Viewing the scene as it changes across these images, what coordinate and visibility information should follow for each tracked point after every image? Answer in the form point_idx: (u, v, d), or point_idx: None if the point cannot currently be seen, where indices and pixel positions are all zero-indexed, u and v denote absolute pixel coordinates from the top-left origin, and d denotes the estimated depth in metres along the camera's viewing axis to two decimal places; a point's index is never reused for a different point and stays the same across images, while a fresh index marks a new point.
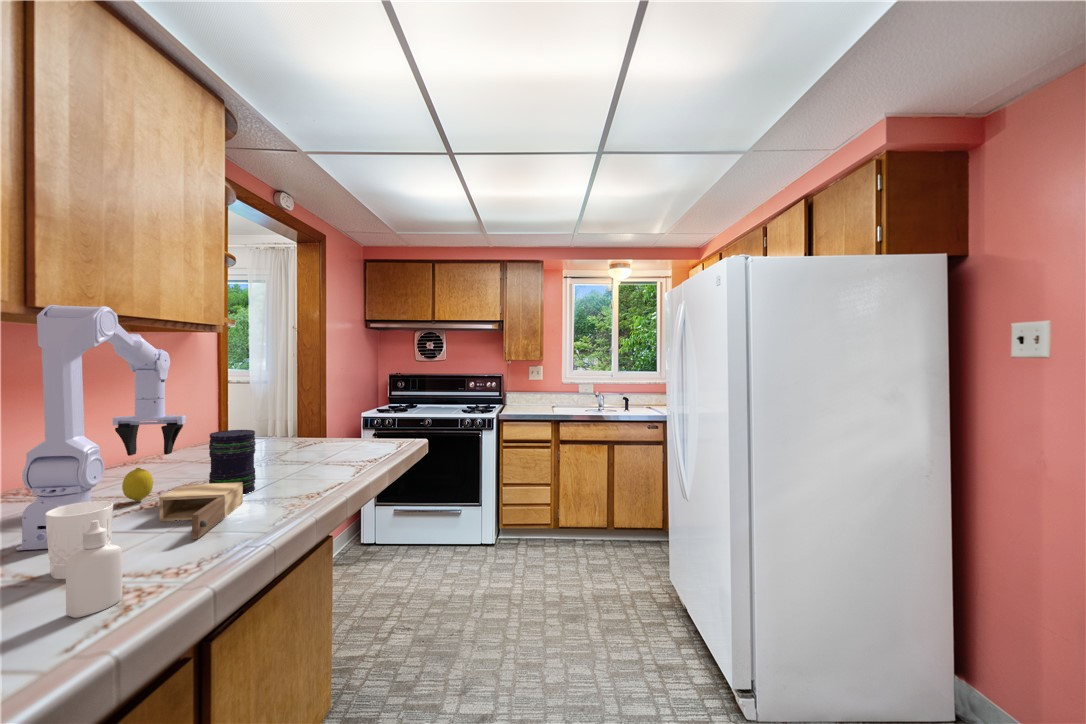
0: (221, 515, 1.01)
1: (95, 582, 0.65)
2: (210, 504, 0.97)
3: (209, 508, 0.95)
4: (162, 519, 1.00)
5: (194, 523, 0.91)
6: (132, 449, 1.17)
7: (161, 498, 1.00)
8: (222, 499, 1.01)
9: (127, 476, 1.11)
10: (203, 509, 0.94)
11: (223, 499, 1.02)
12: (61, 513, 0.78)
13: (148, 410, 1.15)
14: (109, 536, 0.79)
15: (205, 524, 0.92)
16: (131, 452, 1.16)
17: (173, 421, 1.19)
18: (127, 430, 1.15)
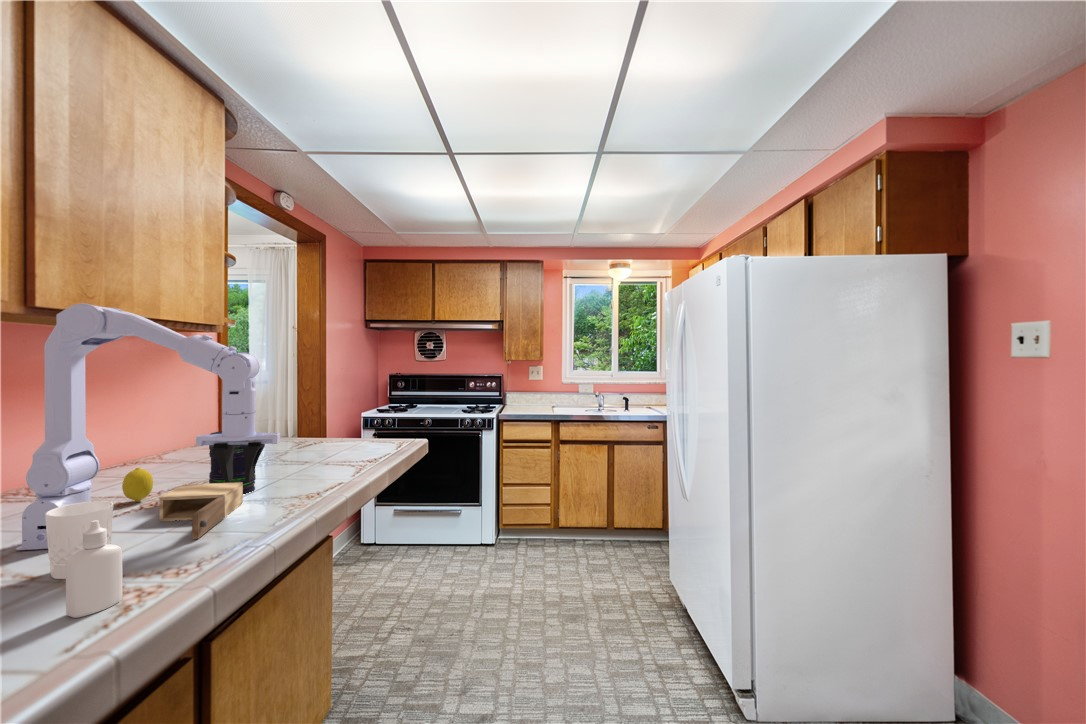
0: (221, 515, 1.01)
1: (95, 582, 0.65)
2: (210, 504, 0.97)
3: (209, 508, 0.95)
4: (162, 519, 1.00)
5: (194, 523, 0.91)
6: (229, 474, 0.97)
7: (161, 498, 1.00)
8: (222, 499, 1.01)
9: (127, 476, 1.11)
10: (203, 509, 0.94)
11: (223, 499, 1.02)
12: (61, 513, 0.78)
13: (239, 427, 0.95)
14: (109, 536, 0.79)
15: (205, 524, 0.92)
16: (229, 478, 0.97)
17: (266, 440, 0.98)
18: (225, 451, 0.95)
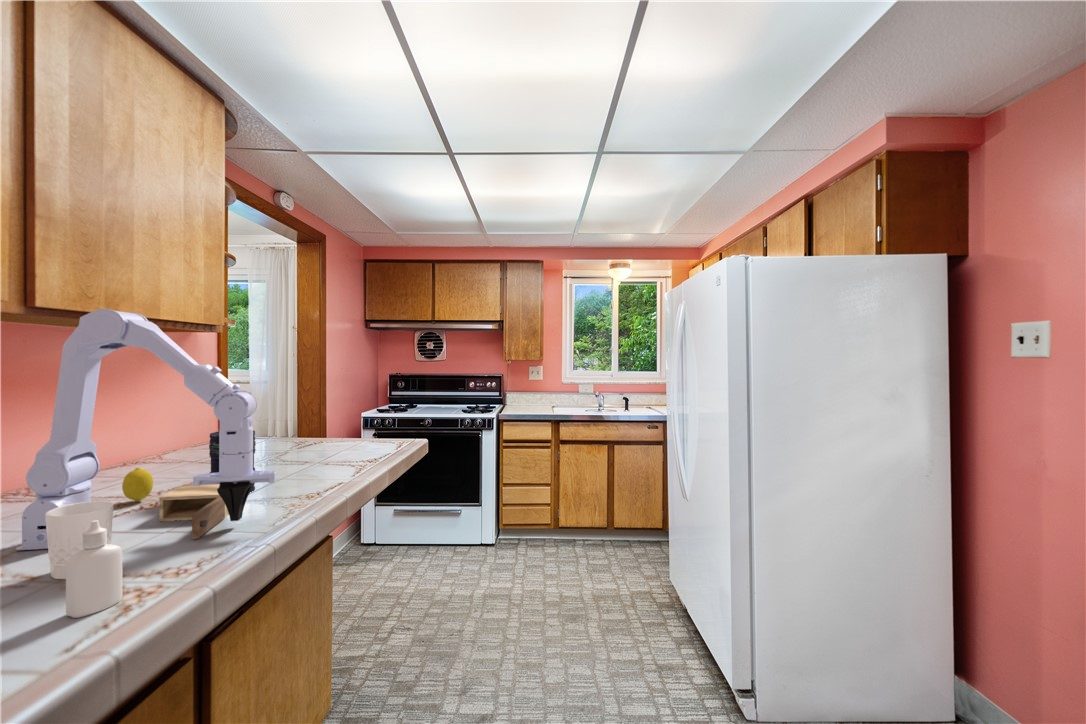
0: (221, 515, 1.01)
1: (95, 583, 0.65)
2: (210, 504, 0.97)
3: (209, 508, 0.95)
4: (162, 519, 1.00)
5: (194, 523, 0.91)
6: None
7: (161, 498, 1.00)
8: (222, 499, 1.01)
9: (127, 476, 1.11)
10: (203, 509, 0.94)
11: None
12: (61, 513, 0.78)
13: (236, 467, 0.95)
14: (109, 536, 0.79)
15: (205, 524, 0.92)
16: None
17: (263, 479, 0.98)
18: (231, 491, 0.96)
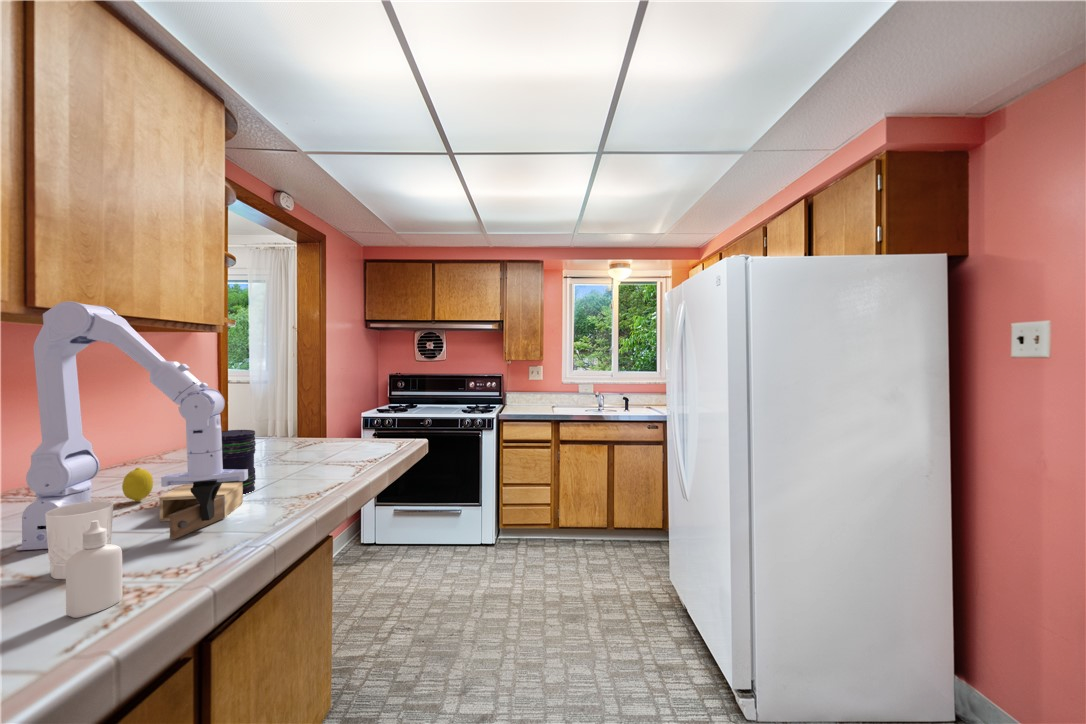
0: (218, 515, 1.01)
1: (95, 583, 0.65)
2: None
3: (195, 508, 0.95)
4: (162, 519, 1.00)
5: (171, 523, 0.90)
6: (210, 512, 0.96)
7: (161, 498, 1.00)
8: (220, 499, 1.01)
9: (127, 476, 1.11)
10: (187, 509, 0.93)
11: (221, 499, 1.01)
12: (61, 513, 0.78)
13: (204, 466, 0.94)
14: (109, 536, 0.79)
15: (183, 525, 0.91)
16: (209, 516, 0.96)
17: (233, 477, 0.97)
18: None
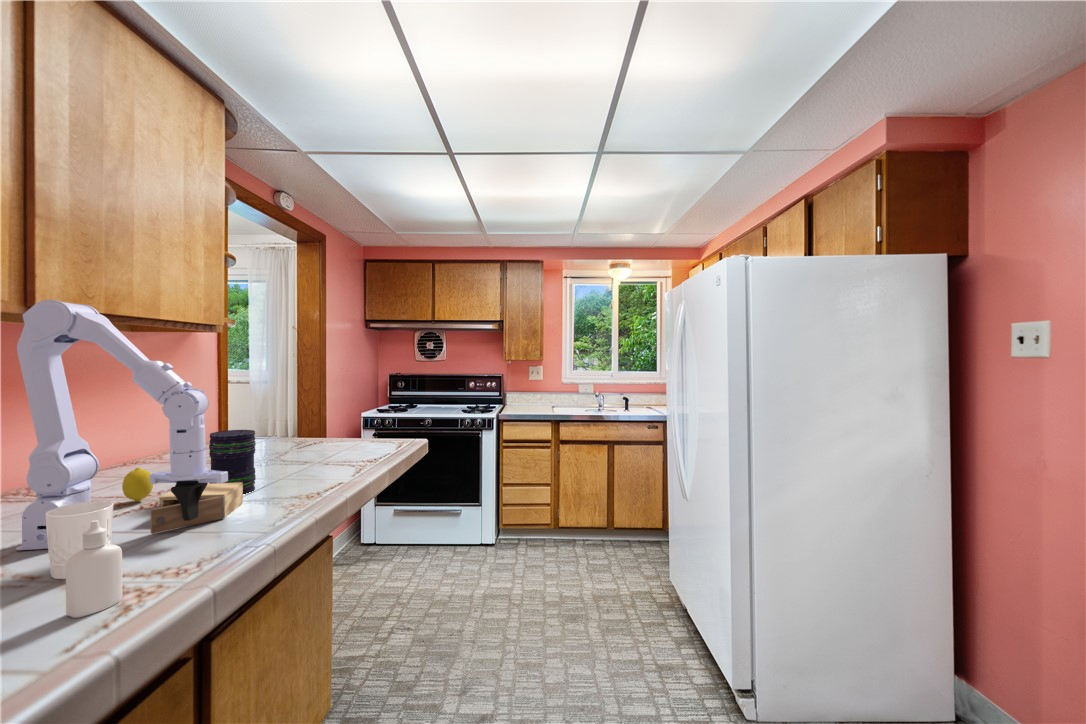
0: (214, 515, 1.01)
1: (95, 583, 0.65)
2: None
3: (181, 506, 0.96)
4: None
5: None
6: (192, 512, 0.96)
7: (161, 498, 1.00)
8: (216, 499, 1.01)
9: (127, 476, 1.11)
10: (171, 506, 0.95)
11: (219, 499, 1.01)
12: (61, 513, 0.78)
13: (182, 467, 0.93)
14: (109, 536, 0.79)
15: (159, 522, 0.93)
16: (190, 516, 0.96)
17: (213, 479, 0.96)
18: None
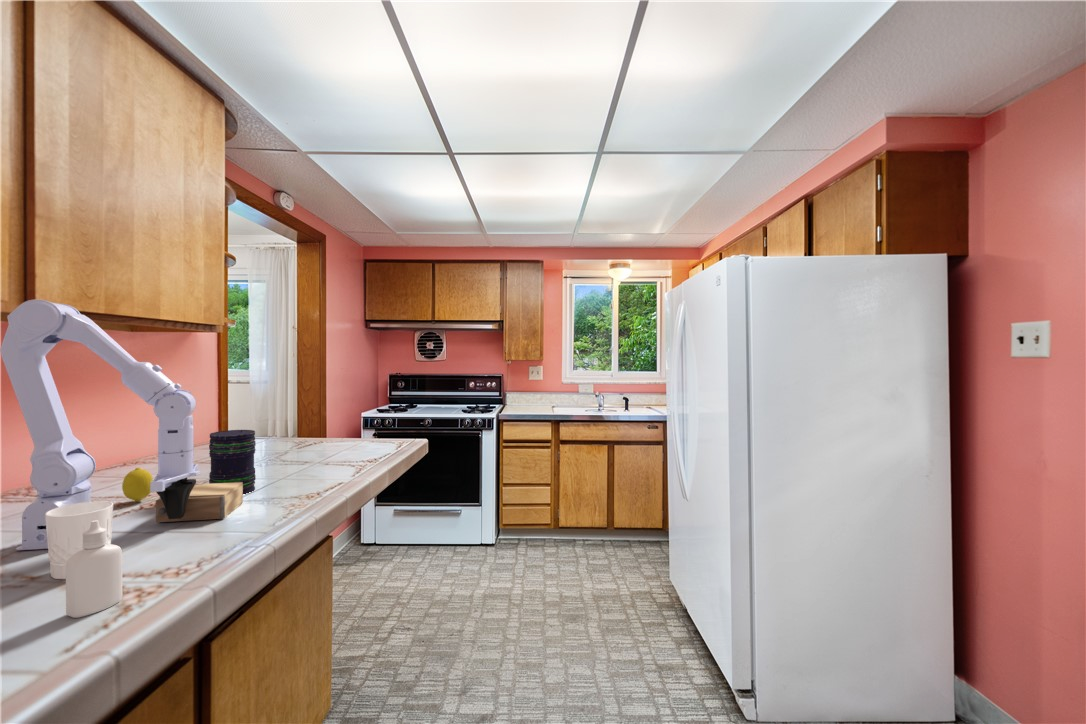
0: (212, 514, 1.01)
1: (95, 583, 0.65)
2: (192, 498, 1.01)
3: None
4: None
5: None
6: None
7: None
8: (215, 499, 1.01)
9: (127, 476, 1.11)
10: None
11: (217, 499, 1.01)
12: (61, 513, 0.78)
13: (158, 465, 0.96)
14: (109, 536, 0.79)
15: (159, 512, 0.98)
16: None
17: None
18: None
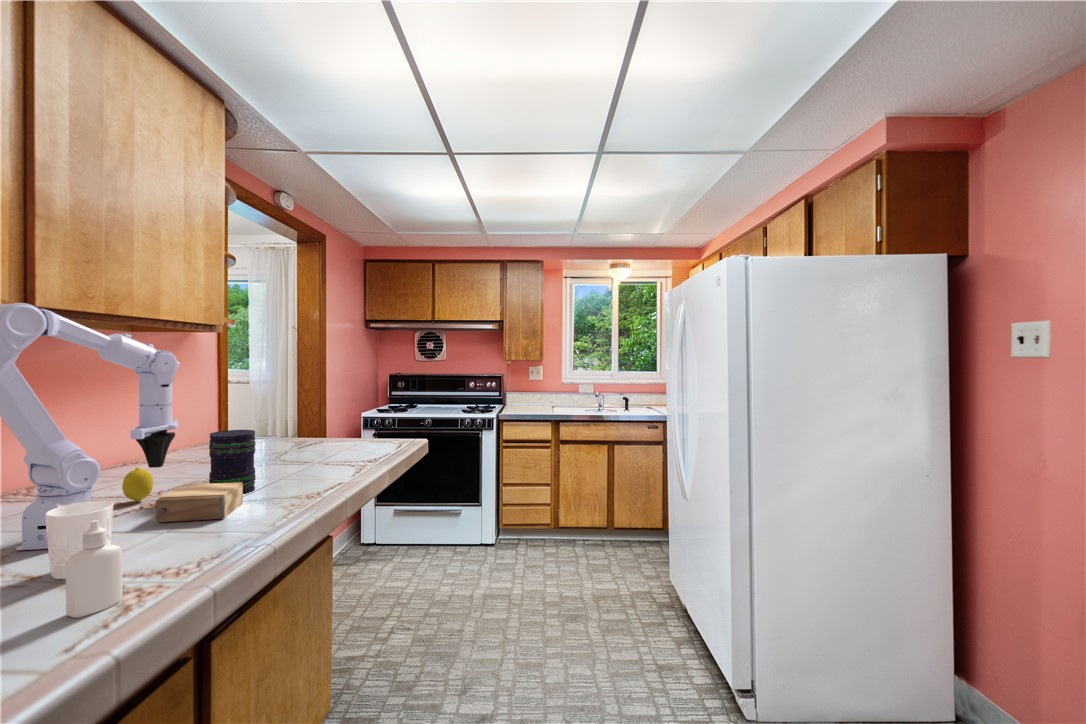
0: (212, 514, 1.01)
1: (95, 583, 0.65)
2: (192, 498, 1.01)
3: (182, 500, 1.00)
4: None
5: None
6: None
7: (161, 498, 1.00)
8: (215, 499, 1.01)
9: (127, 476, 1.11)
10: (174, 498, 1.00)
11: (217, 499, 1.01)
12: (61, 513, 0.78)
13: (139, 417, 1.04)
14: (109, 536, 0.79)
15: (159, 512, 0.98)
16: None
17: None
18: None
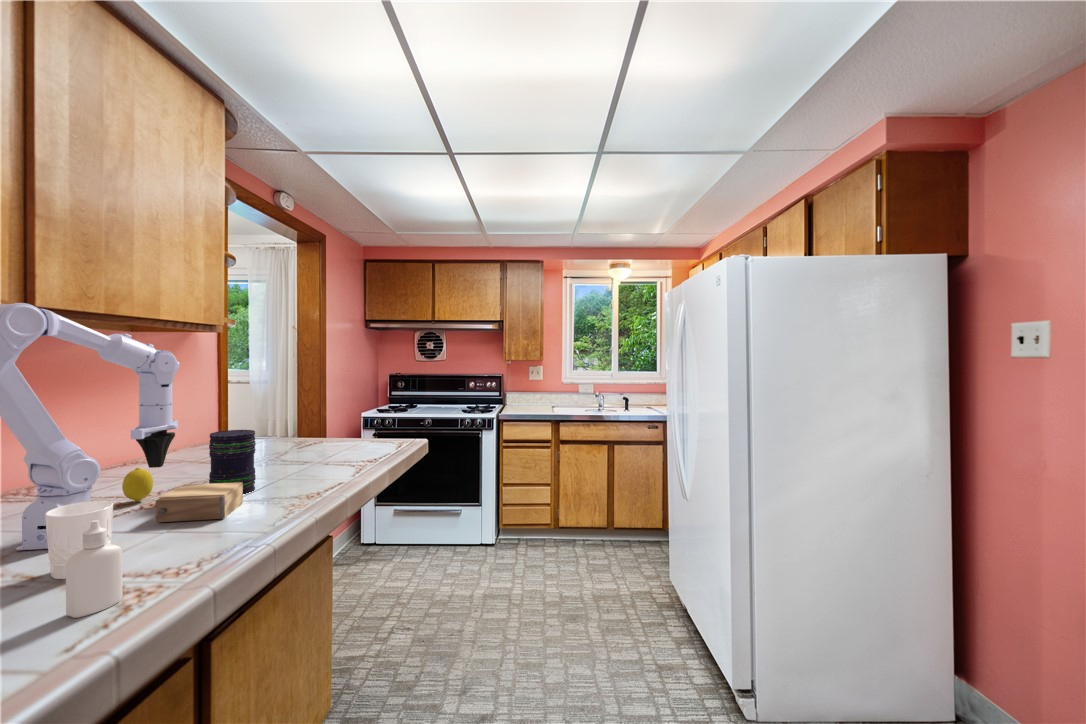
0: (212, 514, 1.01)
1: (95, 583, 0.65)
2: (192, 498, 1.01)
3: (182, 500, 1.00)
4: None
5: None
6: None
7: (161, 498, 1.00)
8: (215, 499, 1.01)
9: (127, 476, 1.11)
10: (174, 498, 1.00)
11: (217, 499, 1.01)
12: (61, 513, 0.78)
13: (139, 417, 1.04)
14: (109, 536, 0.79)
15: (159, 512, 0.98)
16: None
17: None
18: None
